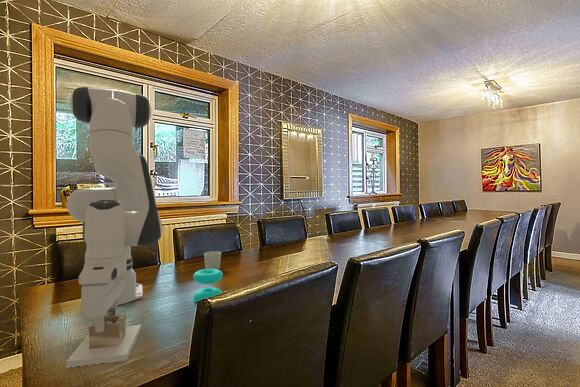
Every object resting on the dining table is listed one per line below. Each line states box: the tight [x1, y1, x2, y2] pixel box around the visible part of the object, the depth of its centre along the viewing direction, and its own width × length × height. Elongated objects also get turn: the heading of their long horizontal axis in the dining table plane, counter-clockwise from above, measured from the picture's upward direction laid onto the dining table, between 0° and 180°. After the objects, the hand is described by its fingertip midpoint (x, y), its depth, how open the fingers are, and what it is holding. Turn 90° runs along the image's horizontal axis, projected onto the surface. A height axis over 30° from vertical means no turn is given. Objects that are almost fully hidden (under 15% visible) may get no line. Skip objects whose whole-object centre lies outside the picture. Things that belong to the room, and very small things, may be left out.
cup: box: [203, 250, 222, 270], centre depth 154 cm, size 11×8×8 cm
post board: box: [65, 321, 142, 369], centre depth 79 cm, size 16×12×6 cm
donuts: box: [192, 268, 224, 303], centre depth 112 cm, size 10×10×10 cm
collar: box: [88, 314, 127, 349], centre depth 79 cm, size 6×6×5 cm
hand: (106, 322), depth 79 cm, fingers open, 8 cm apart
